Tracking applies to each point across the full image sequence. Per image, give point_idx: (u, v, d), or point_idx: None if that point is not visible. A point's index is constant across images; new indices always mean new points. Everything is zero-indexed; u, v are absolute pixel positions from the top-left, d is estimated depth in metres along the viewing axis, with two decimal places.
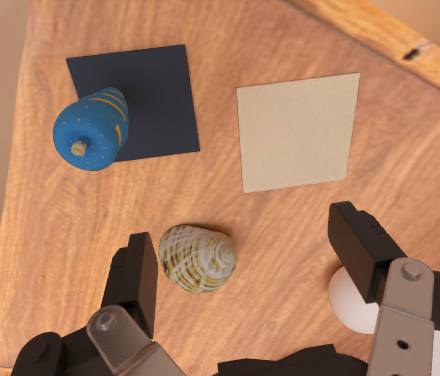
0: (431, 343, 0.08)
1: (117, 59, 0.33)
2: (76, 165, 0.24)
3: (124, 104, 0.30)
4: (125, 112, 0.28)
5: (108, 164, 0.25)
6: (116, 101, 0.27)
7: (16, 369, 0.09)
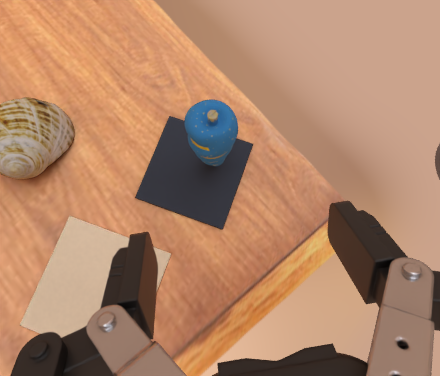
0: (432, 343, 0.08)
1: (236, 177, 0.42)
2: (199, 104, 0.30)
3: (211, 163, 0.36)
4: (208, 160, 0.34)
5: (187, 125, 0.30)
6: (219, 159, 0.34)
7: (16, 369, 0.09)
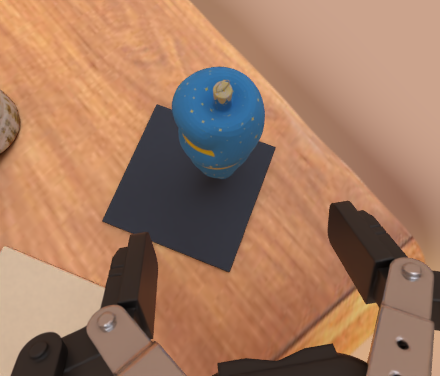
0: (432, 343, 0.08)
1: (250, 195, 0.29)
2: (199, 74, 0.17)
3: (215, 175, 0.23)
4: (212, 172, 0.21)
5: (175, 111, 0.17)
6: (229, 170, 0.21)
7: (16, 369, 0.09)
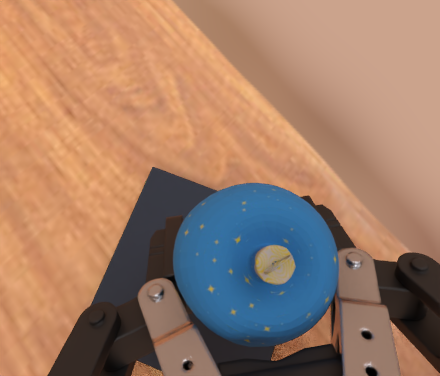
0: (389, 325, 0.08)
1: None
2: (222, 206, 0.09)
3: None
4: None
5: (180, 277, 0.09)
6: None
7: (75, 329, 0.10)
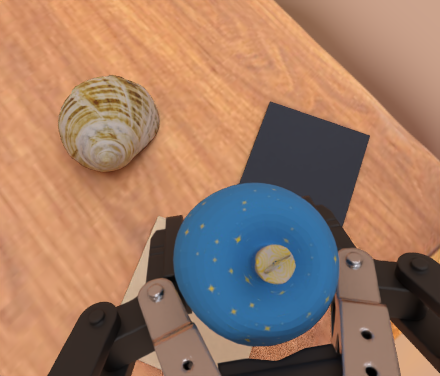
0: (389, 326, 0.08)
1: (352, 174, 0.36)
2: (223, 206, 0.09)
3: None
4: None
5: (180, 277, 0.09)
6: None
7: (75, 329, 0.10)
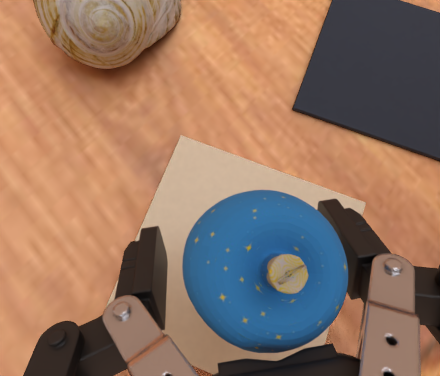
0: (418, 336, 0.08)
1: None
2: (233, 214, 0.09)
3: None
4: None
5: (190, 285, 0.09)
6: None
7: (35, 355, 0.09)
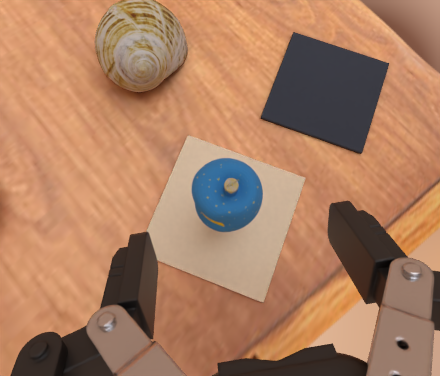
0: (431, 343, 0.08)
1: (373, 98, 0.37)
2: (212, 166, 0.22)
3: None
4: None
5: (195, 195, 0.22)
6: None
7: (16, 369, 0.09)
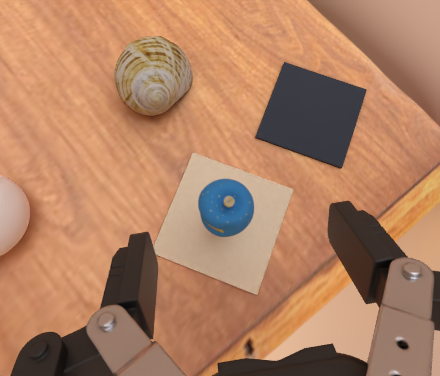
0: (431, 343, 0.08)
1: (352, 120, 0.43)
2: (214, 186, 0.28)
3: None
4: None
5: (201, 208, 0.28)
6: None
7: (16, 369, 0.09)
